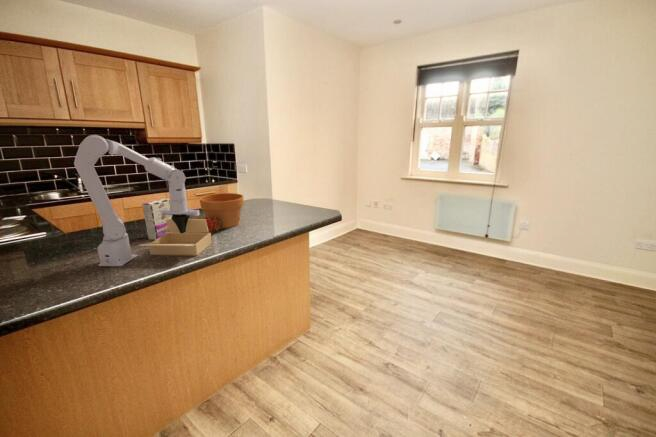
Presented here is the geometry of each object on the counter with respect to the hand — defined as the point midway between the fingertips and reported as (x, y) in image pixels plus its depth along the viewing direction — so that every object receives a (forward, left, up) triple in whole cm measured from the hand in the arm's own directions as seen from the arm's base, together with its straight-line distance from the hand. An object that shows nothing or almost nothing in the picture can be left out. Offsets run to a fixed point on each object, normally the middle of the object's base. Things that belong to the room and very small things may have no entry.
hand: (182, 232), depth 116 cm
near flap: (-12, 0, -1) cm, 12 cm away
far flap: (+4, 0, +1) cm, 4 cm away
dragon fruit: (+19, -3, -7) cm, 21 cm away
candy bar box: (+13, +17, -7) cm, 23 cm away
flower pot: (+32, -5, -7) cm, 33 cm away
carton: (-2, 0, -6) cm, 7 cm away
